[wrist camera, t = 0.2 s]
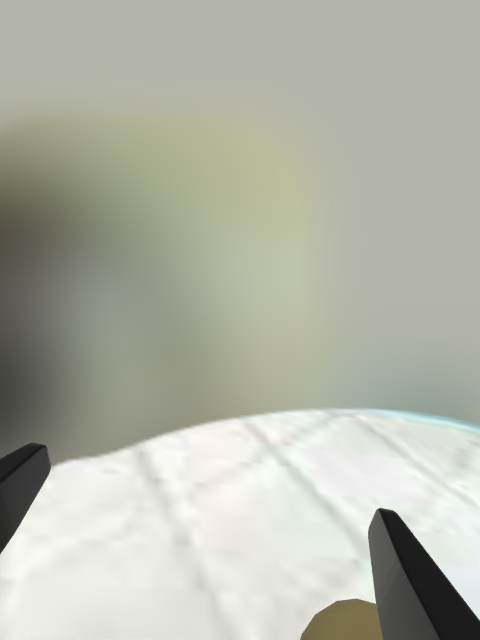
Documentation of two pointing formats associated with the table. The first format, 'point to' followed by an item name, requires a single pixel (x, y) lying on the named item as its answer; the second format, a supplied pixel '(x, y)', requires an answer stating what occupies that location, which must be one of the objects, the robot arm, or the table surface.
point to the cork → (345, 622)
